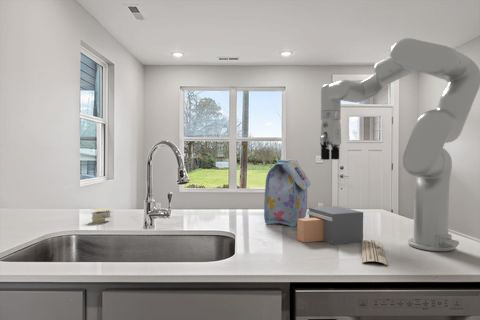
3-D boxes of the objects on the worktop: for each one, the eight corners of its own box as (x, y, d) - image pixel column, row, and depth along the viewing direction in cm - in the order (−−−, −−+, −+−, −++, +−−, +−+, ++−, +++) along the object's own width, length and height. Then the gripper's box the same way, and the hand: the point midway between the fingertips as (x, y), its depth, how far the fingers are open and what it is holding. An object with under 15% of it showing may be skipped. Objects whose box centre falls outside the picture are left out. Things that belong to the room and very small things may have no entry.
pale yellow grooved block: (98, 225, 140) (98, 211, 140) (84, 223, 145) (84, 210, 144) (118, 221, 149) (118, 208, 149) (104, 219, 153) (104, 206, 153)
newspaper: (361, 244, 114) (361, 239, 114) (384, 246, 111) (384, 240, 111) (362, 266, 91) (362, 259, 91) (391, 269, 89) (391, 262, 89)
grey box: (362, 241, 115) (363, 212, 115) (330, 244, 110) (330, 214, 110) (337, 232, 128) (337, 206, 128) (307, 235, 124) (307, 207, 123)
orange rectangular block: (349, 238, 119) (349, 217, 119) (303, 242, 113) (303, 220, 113) (342, 235, 123) (342, 215, 123) (297, 239, 116) (297, 218, 116)
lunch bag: (302, 228, 135) (302, 160, 135) (261, 224, 142) (261, 159, 141) (312, 218, 156) (313, 159, 156) (276, 215, 163) (276, 159, 162)
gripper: (331, 113, 128) (330, 159, 128) (347, 117, 142) (347, 159, 142) (312, 114, 132) (312, 159, 133) (330, 118, 146) (329, 159, 146)
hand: (330, 159), depth 137 cm, fingers open, 9 cm apart
